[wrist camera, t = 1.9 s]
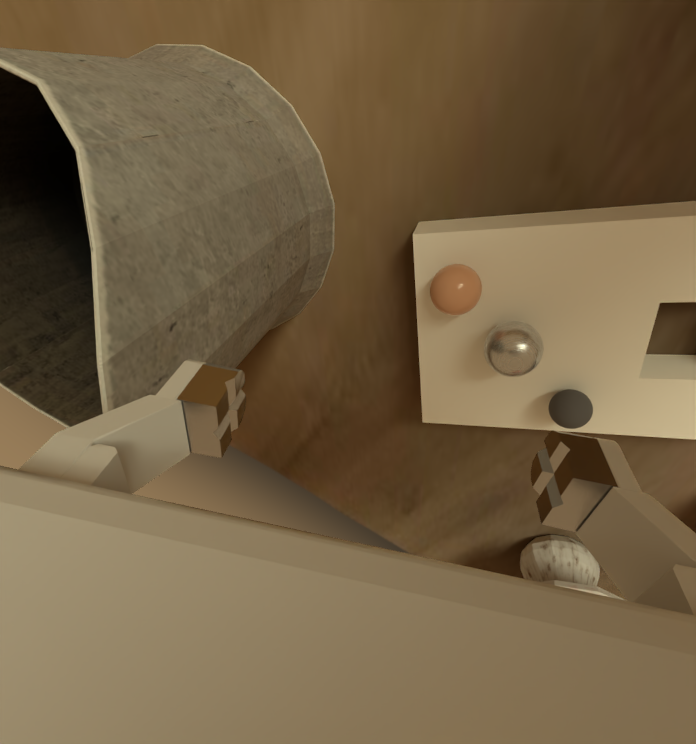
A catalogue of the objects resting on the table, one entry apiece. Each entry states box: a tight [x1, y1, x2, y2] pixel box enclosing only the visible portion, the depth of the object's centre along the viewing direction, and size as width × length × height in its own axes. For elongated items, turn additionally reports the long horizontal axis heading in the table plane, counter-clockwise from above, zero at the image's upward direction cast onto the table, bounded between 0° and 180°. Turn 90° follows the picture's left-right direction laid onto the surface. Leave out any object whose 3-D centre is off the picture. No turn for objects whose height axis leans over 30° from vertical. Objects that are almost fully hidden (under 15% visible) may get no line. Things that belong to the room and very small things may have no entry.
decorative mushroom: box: [520, 535, 627, 601], centre depth 42 cm, size 14×14×15 cm
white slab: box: [413, 201, 696, 440], centre depth 32 cm, size 25×17×4 cm
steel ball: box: [483, 321, 544, 377], centre depth 30 cm, size 4×4×4 cm
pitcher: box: [0, 44, 335, 428], centre depth 26 cm, size 23×32×25 cm
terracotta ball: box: [430, 264, 482, 315], centre depth 29 cm, size 4×4×4 cm
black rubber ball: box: [548, 389, 593, 429], centre depth 32 cm, size 3×3×3 cm
